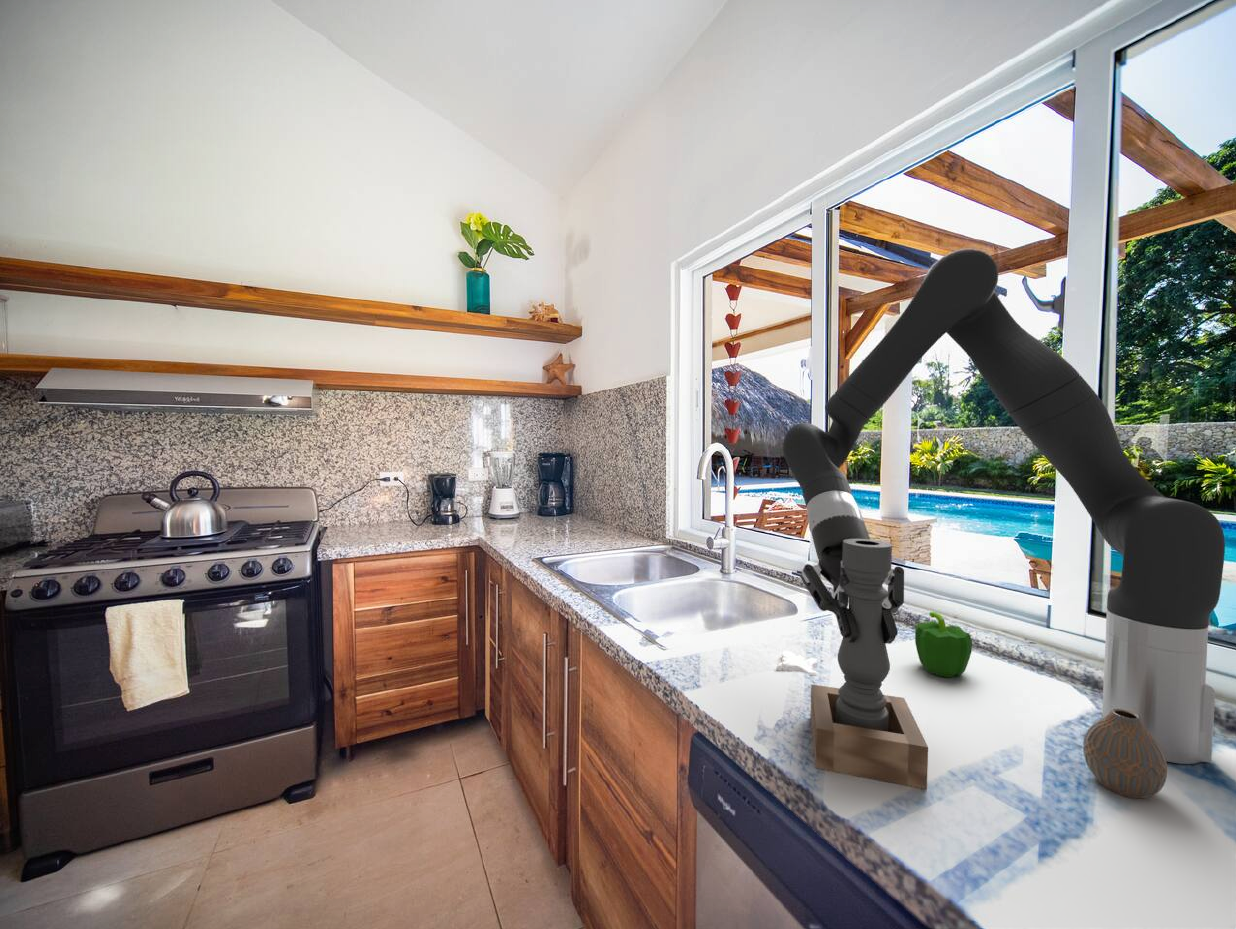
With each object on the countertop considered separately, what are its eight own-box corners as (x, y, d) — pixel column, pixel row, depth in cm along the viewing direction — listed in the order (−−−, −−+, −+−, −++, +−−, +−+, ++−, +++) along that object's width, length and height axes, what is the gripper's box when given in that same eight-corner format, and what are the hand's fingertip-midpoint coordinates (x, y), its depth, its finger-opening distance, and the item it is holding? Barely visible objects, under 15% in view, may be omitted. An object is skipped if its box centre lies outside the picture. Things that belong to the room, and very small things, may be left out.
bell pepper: (979, 684, 84) (981, 626, 83) (925, 679, 86) (927, 622, 85) (956, 663, 92) (958, 609, 92) (907, 659, 94) (909, 606, 93)
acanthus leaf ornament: (776, 673, 89) (776, 663, 89) (777, 658, 95) (777, 648, 95) (822, 680, 86) (822, 669, 86) (820, 664, 93) (820, 654, 93)
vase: (1079, 760, 64) (1082, 693, 63) (1158, 784, 59) (1162, 711, 59) (1084, 789, 58) (1087, 715, 58) (1171, 817, 54) (1176, 738, 54)
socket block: (903, 733, 69) (904, 697, 69) (926, 789, 58) (928, 747, 58) (810, 717, 73) (811, 684, 73) (815, 767, 62) (816, 728, 62)
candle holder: (833, 737, 64) (839, 544, 63) (837, 714, 70) (842, 536, 69) (888, 751, 62) (895, 549, 60) (887, 726, 67) (893, 541, 66)
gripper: (794, 512, 72) (822, 626, 61) (895, 514, 72) (943, 629, 60) (783, 541, 78) (806, 650, 66) (877, 543, 77) (917, 654, 65)
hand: (871, 639), depth 63 cm, fingers closed on candle holder, 4 cm apart
